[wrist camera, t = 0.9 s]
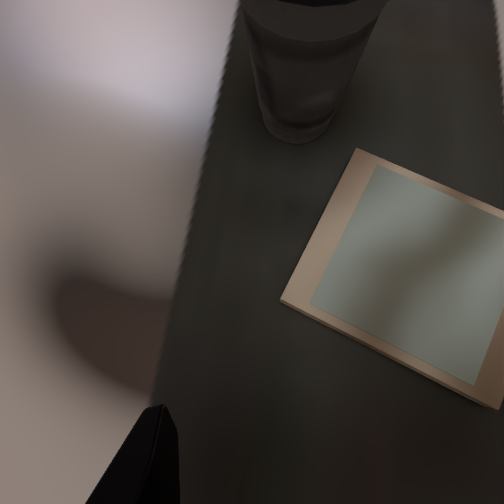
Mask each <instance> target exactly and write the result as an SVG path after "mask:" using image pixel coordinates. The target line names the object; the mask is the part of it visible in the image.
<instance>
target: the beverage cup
mask: <svg viewBox="0 0 504 504" xmlns="http://www.w3.org/2000/svg"><path fill="white" fill-rule="evenodd" d="M240 1H241V6H242V12H243V17H244V23H245V29H246V34H247V40H248V45H249V51H250V57H251V62H252V68H253V73H254V79H255V84H256V90H257V96H258V101H259V107H260V109H261V112H262V115H263V121H264V124H265V126H266V128H267V130H268V131H269V132H270V133H271V134H272V135H273V136H274V137H275V138H277V139H279V140H281V141H283V142H286V143H291V144H304V143H308V142H310V141H313V140H316V139H317V138H318V137H319V136H321V135H322V134H323V133H324V132H325V130H326V129H327V127H328V126H329V124H330V120H331V119H332V117H333V116H334V114H335V113H336V111H337V109H338V107H339V104H340V102H341V100H342V98H343V95H344V93H345V91H346V89H347V86H348V84H349V82H350V80H351V77H352V75H353V73H354V71H355V68H356V66H357V64H358V62H359V59H360V57H361V55H362V52H363V50H364V48H365V46H366V43H367V41H368V39H369V37H370V34H371V32H372V30H373V28H374V25H375V23H376V21H377V19H378V16H379V14H380V12H381V10H382V9H383V7H384V6H385V5H386V3H387V2H388V0H240Z"/></svg>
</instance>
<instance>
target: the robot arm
mask: <svg viewBox="0 0 504 504" xmlns="http://www.w3.org/2000/svg"><path fill="white" fill-rule="evenodd" d="M85 504H180V483H179V451H178V433H177V429H176V426H175V424H174V422H173V420H172V418H171V415H170V413H169V411H168V409H167V407H166V406H165V405H163V404H161V405H156V406H152V407H148V408H146V409H145V410H144V411H143V412H142V414H141V415H140V417H139V418H138V420H137V422H136V423H135V425H134V426H133V428H132V430H131V431H130V433H129V434H128V436H127V438H126V439H125V441H124V442H123V444H122V446H121V447H120V449H119V450H118V452H117V454H116V455H115V457H114V458H113V460H112V462H111V463H110V465H109V466H108V468H107V470H106V471H105V473H104V474H103V476H102V478H101V479H100V481H99V482H98V484H97V486H96V487H95V489H94V490H93V492H92V494H91V495H90V497H89V498H88V500H87V501H86V503H85Z"/></svg>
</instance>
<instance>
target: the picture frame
mask: <svg viewBox="0 0 504 504" xmlns="http://www.w3.org/2000/svg"><path fill="white" fill-rule="evenodd" d="M280 302H281V303H283V304H285V305H287V306H289V307H291V308H293V309H295V310H297V311H299V312H301V313H303V314H304V315H306V316H308V317H310V318H312V319H314V320H316V321H318V322H320V323H322V324H324V325H326V326H328V327H330V328H332V329H334V330H336V331H338V332H340V333H342V334H343V335H345V336H347V337H349V338H351V339H353V340H355V341H357V342H359V343H361V344H363V345H365V346H367V347H369V348H371V349H373V350H375V351H377V352H379V353H380V354H382V355H384V356H386V357H388V358H390V359H392V360H394V361H396V362H398V363H400V364H402V365H404V366H406V367H408V368H410V369H412V370H414V371H416V372H417V373H419V374H421V375H423V376H425V377H427V378H429V379H431V380H433V381H435V382H437V383H439V384H441V385H443V386H445V387H447V388H449V389H451V390H453V391H454V392H456V393H458V394H460V395H462V396H464V397H466V398H468V399H470V400H472V401H474V402H476V403H478V404H480V405H482V406H485V407H488V408H492V409H495V410H498V411H499V408H500V406H501V403H502V400H503V397H504V211H502V210H500V209H497V208H495V207H493V206H490V205H488V204H486V203H483V202H481V201H479V200H476V199H474V198H472V197H469V196H467V195H465V194H463V193H460V192H458V191H456V190H453V189H451V188H449V187H446V186H444V185H442V184H439V183H437V182H435V181H432V180H430V179H428V178H426V177H423V176H421V175H419V174H416V173H414V172H412V171H409V170H407V169H405V168H402V167H400V166H398V165H395V164H393V163H391V162H389V161H386V160H384V159H382V158H379V157H377V156H375V155H372V154H370V153H368V152H365V151H363V150H361V149H358V148H356V149H355V151H354V153H353V155H352V157H351V159H350V161H349V163H348V165H347V167H346V169H345V171H344V173H343V175H342V177H341V179H340V181H339V183H338V185H337V187H336V189H335V191H334V193H333V195H332V197H331V199H330V201H329V203H328V205H327V207H326V209H325V211H324V213H323V215H322V217H321V219H320V221H319V223H318V225H317V227H316V229H315V231H314V233H313V235H312V237H311V239H310V241H309V243H308V245H307V247H306V249H305V251H304V253H303V255H302V257H301V259H300V261H299V263H298V265H297V267H296V269H295V271H294V273H293V275H292V276H291V278H290V280H289V282H288V284H287V286H286V288H285V290H284V292H283V294H282V296H281V298H280Z"/></svg>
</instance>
